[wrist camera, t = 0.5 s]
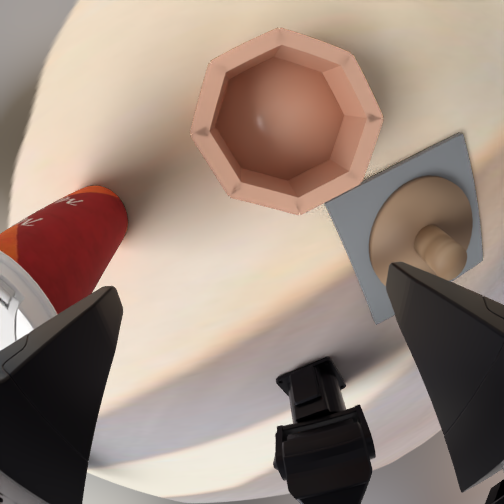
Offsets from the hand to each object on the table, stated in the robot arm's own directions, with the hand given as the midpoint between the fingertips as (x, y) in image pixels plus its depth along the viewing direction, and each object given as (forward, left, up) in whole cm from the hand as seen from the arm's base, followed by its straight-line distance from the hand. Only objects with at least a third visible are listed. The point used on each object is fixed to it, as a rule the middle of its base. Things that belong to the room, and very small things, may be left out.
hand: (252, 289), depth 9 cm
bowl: (+3, -4, -13) cm, 14 cm away
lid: (-11, -11, -13) cm, 20 cm away
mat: (-11, -11, -13) cm, 21 cm away
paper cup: (+4, +12, -14) cm, 18 cm away
